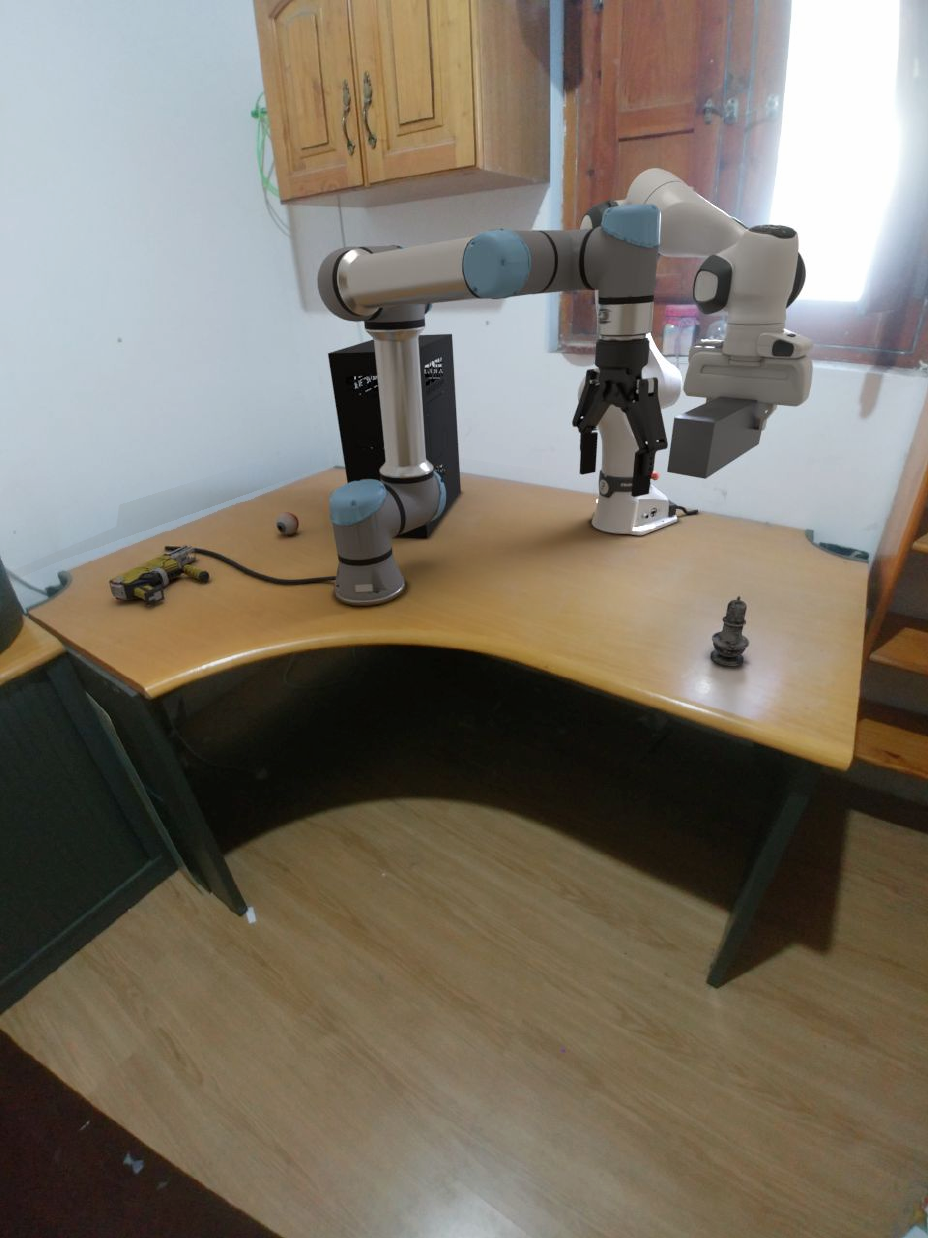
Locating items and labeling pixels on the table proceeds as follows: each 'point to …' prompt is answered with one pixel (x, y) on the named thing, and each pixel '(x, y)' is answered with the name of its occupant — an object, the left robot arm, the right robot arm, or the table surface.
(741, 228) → the right robot arm
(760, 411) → the box
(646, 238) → the left robot arm
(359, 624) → the table surface
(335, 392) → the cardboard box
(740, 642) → the dark grey chess piece
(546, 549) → the table surface
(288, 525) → the eyeball
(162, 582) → the toy gun
